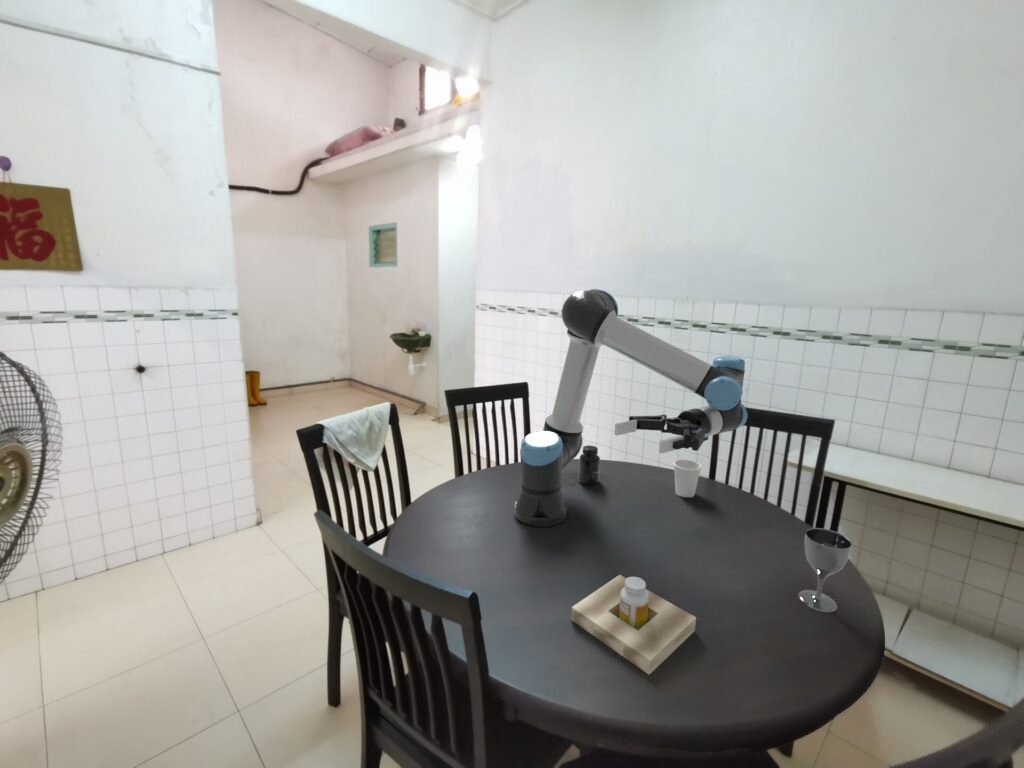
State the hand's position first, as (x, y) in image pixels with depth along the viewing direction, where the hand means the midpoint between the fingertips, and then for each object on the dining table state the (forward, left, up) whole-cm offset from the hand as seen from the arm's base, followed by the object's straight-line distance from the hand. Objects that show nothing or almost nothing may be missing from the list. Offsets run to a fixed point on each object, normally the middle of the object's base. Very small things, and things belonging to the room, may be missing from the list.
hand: (637, 438), depth 108 cm
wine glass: (+35, +19, -32) cm, 51 cm away
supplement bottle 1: (-36, +29, -32) cm, 57 cm away
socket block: (+13, -17, -32) cm, 38 cm away
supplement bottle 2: (+13, -17, -32) cm, 38 cm away
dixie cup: (-10, +45, -32) cm, 57 cm away
